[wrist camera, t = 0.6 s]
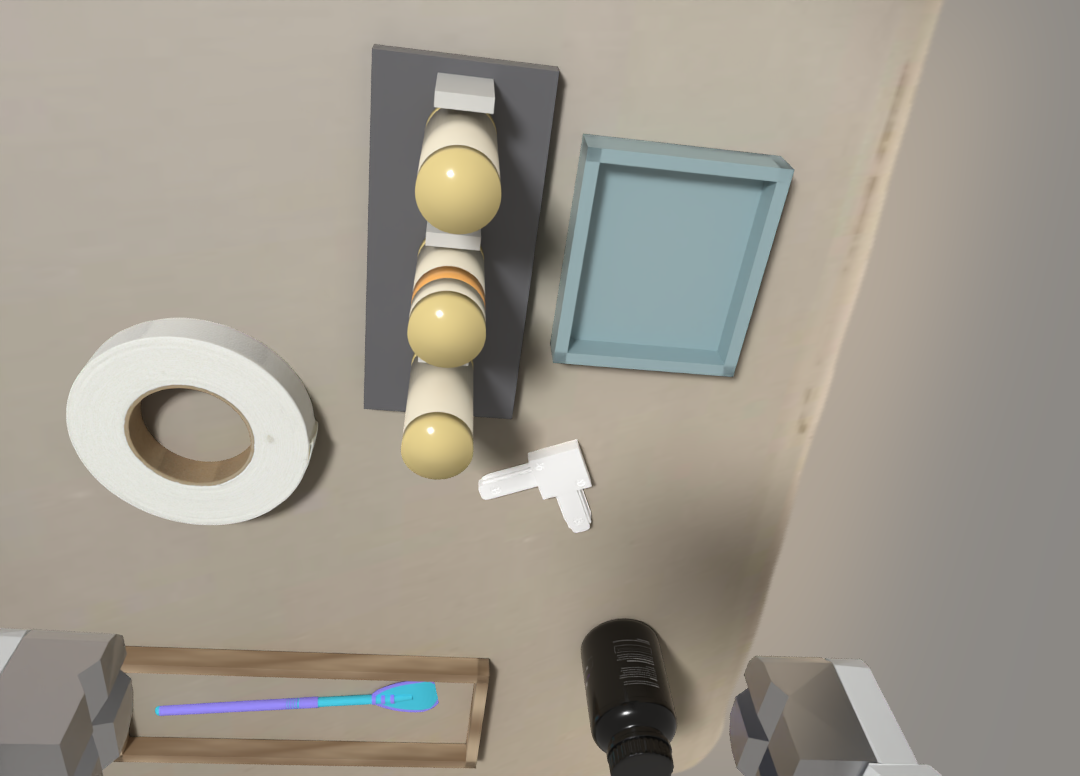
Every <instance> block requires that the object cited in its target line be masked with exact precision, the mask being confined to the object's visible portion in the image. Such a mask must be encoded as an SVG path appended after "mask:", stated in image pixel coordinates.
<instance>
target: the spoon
mask: <svg viewBox="0 0 1080 776" xmlns="http://www.w3.org/2000/svg"><path fill="white" fill-rule="evenodd" d="M438 703H439V702H438V697H437V693H436V688H435V683H434V682H416V681H405V682H400V683H395V684H392V685H389V686H386V687H383V688H381V689H379V690H377V691H375V692H374V693H373V694H370V695H351V696H333V697H305V698H296V699H295V698H291V699H290V698H287V699H270V700H253V701H236V702H219V703H203V704H186V705H169V706H158V707H156V709H155V713H156V714H157V715H159V716H165V715H185V714H204V713H224V712H243V711H263V710H282V709H298V708H300V709H302V708H319V707H325V706H345V705H364V704H372V705H378V706H380V707H383V708H387V709H391V710H396V711H404V712H423V711H427V710H429V709H432V708H433V707H435V706H436V705H437V704H438Z"/></svg>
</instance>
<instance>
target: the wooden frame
mask: <svg viewBox="0 0 1080 776" xmlns="http://www.w3.org/2000/svg"><path fill="white" fill-rule="evenodd" d="M125 648H126V652H127V655H126V657H125V660H124V662H123V664H122V667H121V669H120V670H122V671H123V672H124V673H155V674H188V675H221V676H253V677H286V678H318V679H351V680H384V681H416V682H449V683H474V688H473V696H472V703H471V711H470V718H469V725H468V733H467V740H466V744H442V743H396V742H350V741H303V740H257V739H211V738H165V737H129V732H128V735H127V738H126V740H125V743H124V746H123V748H122V751H121V754H120V756H119V757H118V758H117V759H115V760H114V761H113V762H157V763H213V764H268V765H323V766H378V767H433V768H476V763H477V756H478V750H479V743H480V736H481V729H482V723H483V716H484V709H485V703H486V696H487V689H488V682H489V659H483V658H453V657H424V656H395V655H366V654H337V653H308V652H279V651H250V650H220V649H191V648H162V647H133V646H125Z"/></svg>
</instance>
